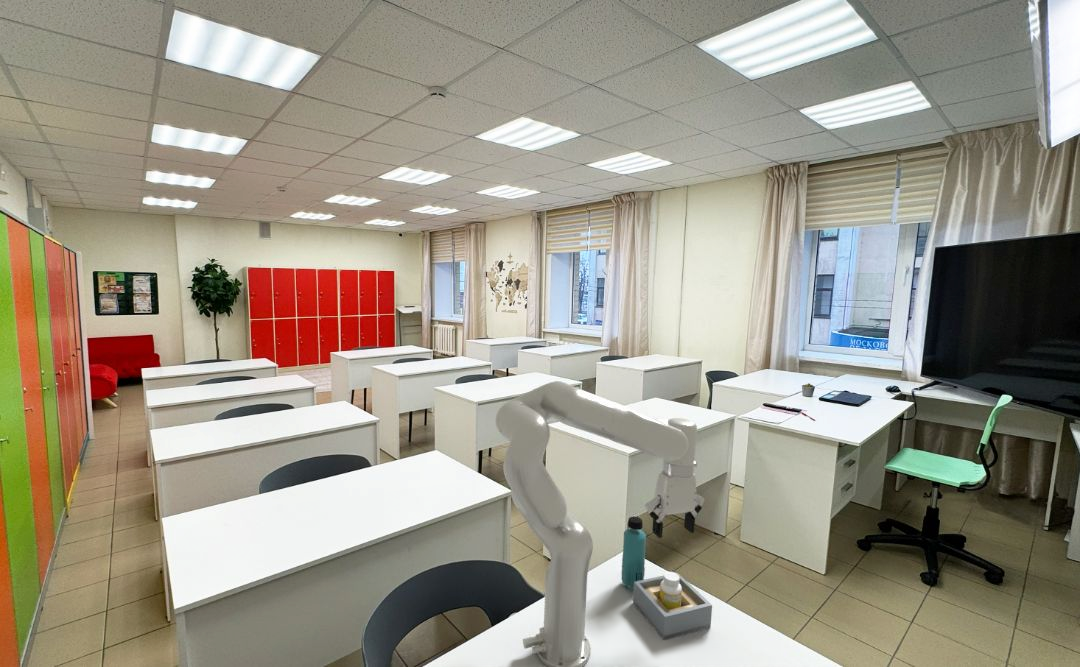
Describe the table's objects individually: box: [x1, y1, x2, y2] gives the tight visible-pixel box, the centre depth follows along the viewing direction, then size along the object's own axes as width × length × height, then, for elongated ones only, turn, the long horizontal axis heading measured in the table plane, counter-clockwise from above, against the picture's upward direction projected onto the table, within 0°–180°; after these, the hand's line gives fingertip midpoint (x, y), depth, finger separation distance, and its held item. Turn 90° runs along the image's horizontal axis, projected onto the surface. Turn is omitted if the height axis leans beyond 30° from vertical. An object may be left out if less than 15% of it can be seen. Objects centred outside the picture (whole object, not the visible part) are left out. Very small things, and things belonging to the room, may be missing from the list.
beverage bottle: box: [620, 516, 647, 589], centre depth 131 cm, size 6×7×20 cm
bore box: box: [632, 572, 713, 641], centre depth 120 cm, size 14×14×6 cm
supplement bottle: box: [660, 571, 682, 610], centre depth 120 cm, size 5×5×10 cm
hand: (673, 532), depth 118 cm, fingers open, 9 cm apart
